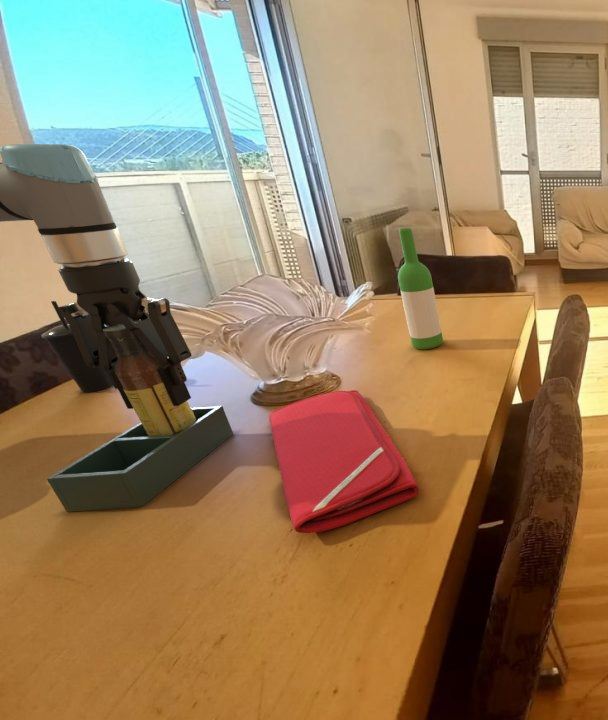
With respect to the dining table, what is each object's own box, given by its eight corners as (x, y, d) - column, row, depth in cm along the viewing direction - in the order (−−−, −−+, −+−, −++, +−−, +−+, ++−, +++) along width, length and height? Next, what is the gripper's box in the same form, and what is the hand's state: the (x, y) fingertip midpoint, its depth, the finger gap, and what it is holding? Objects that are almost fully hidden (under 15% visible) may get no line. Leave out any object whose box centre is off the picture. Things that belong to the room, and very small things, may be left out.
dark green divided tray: (66, 512, 67) (45, 478, 65) (174, 437, 85) (161, 409, 83) (142, 506, 68) (125, 473, 66) (233, 433, 86) (222, 405, 83)
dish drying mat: (361, 396, 98) (357, 380, 97) (424, 495, 68) (419, 473, 67) (270, 422, 89) (264, 404, 88) (297, 547, 60) (288, 524, 58)
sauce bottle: (198, 422, 84) (153, 315, 76) (202, 436, 80) (155, 324, 72) (148, 437, 80) (95, 325, 72) (150, 451, 75) (93, 334, 68)
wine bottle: (442, 338, 130) (421, 225, 118) (444, 347, 123) (423, 229, 111) (412, 343, 127) (387, 228, 115) (413, 352, 120) (387, 232, 109)
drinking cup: (102, 379, 110) (60, 296, 102) (130, 380, 109) (90, 296, 101) (62, 394, 103) (14, 306, 95) (92, 396, 102) (45, 306, 94)
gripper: (184, 254, 72) (237, 389, 81) (49, 259, 71) (117, 396, 80) (143, 264, 65) (205, 410, 74) (-8, 270, 64) (74, 418, 73)
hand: (160, 403), depth 77 cm, fingers closed on sauce bottle, 6 cm apart
